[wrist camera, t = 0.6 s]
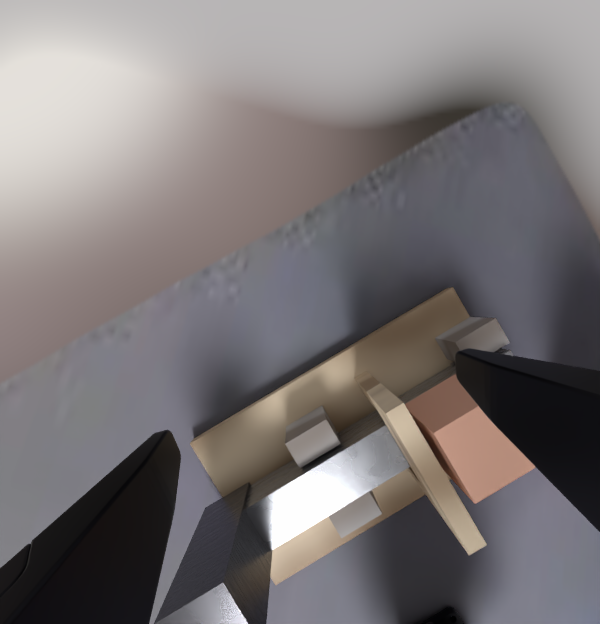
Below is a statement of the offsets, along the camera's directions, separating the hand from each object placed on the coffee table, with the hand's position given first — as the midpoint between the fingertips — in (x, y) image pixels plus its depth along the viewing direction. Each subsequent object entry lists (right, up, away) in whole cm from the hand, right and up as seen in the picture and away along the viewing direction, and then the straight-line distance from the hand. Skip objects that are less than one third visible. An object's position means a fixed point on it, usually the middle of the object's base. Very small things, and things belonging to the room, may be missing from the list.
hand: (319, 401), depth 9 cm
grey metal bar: (+3, -7, +12) cm, 14 cm away
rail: (+4, -6, +13) cm, 15 cm away
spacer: (+8, -4, +9) cm, 13 cm away
